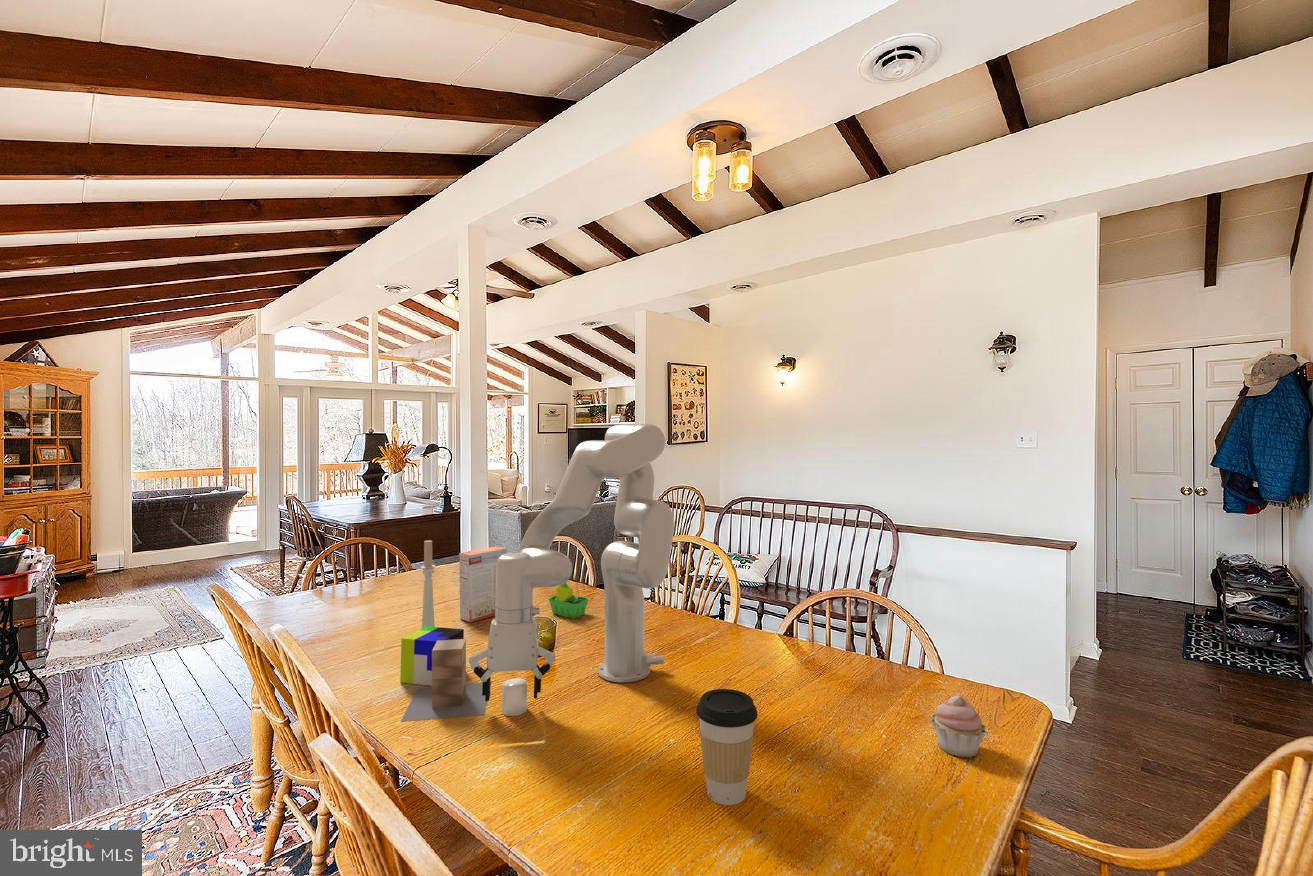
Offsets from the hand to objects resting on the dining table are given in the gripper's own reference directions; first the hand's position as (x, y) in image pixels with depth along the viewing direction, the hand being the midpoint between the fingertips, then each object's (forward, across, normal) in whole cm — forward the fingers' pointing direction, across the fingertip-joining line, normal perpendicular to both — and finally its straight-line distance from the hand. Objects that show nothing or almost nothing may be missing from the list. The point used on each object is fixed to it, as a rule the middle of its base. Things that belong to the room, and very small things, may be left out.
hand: (511, 697), depth 121 cm
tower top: (-3, +14, -7) cm, 16 cm away
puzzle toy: (+3, +19, -21) cm, 29 cm away
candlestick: (+4, +23, -37) cm, 44 cm away
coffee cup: (+3, -36, +34) cm, 49 cm away
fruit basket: (+2, -14, -64) cm, 66 cm away
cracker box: (+3, +12, -67) cm, 69 cm away
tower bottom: (+3, +13, -7) cm, 16 cm away
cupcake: (+2, -82, +29) cm, 86 cm away
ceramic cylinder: (+3, -1, 0) cm, 3 cm away
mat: (+4, +13, -7) cm, 16 cm away
